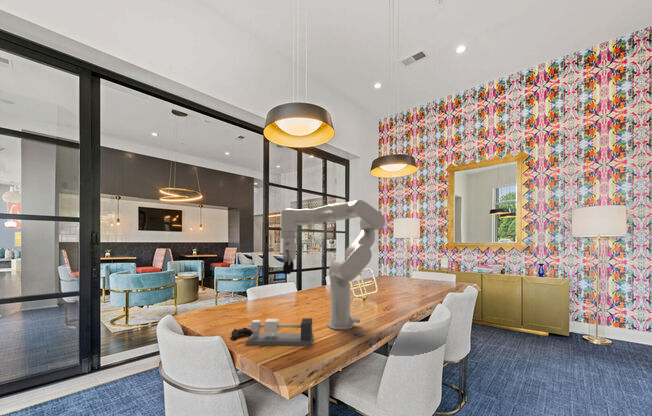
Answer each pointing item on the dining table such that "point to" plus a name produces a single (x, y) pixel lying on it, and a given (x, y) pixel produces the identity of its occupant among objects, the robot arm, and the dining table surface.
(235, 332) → the game controller
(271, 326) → the sleeve
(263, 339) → the board
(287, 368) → the dining table surface
